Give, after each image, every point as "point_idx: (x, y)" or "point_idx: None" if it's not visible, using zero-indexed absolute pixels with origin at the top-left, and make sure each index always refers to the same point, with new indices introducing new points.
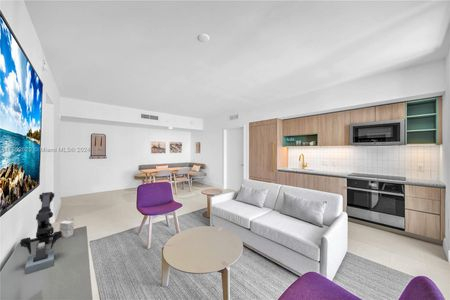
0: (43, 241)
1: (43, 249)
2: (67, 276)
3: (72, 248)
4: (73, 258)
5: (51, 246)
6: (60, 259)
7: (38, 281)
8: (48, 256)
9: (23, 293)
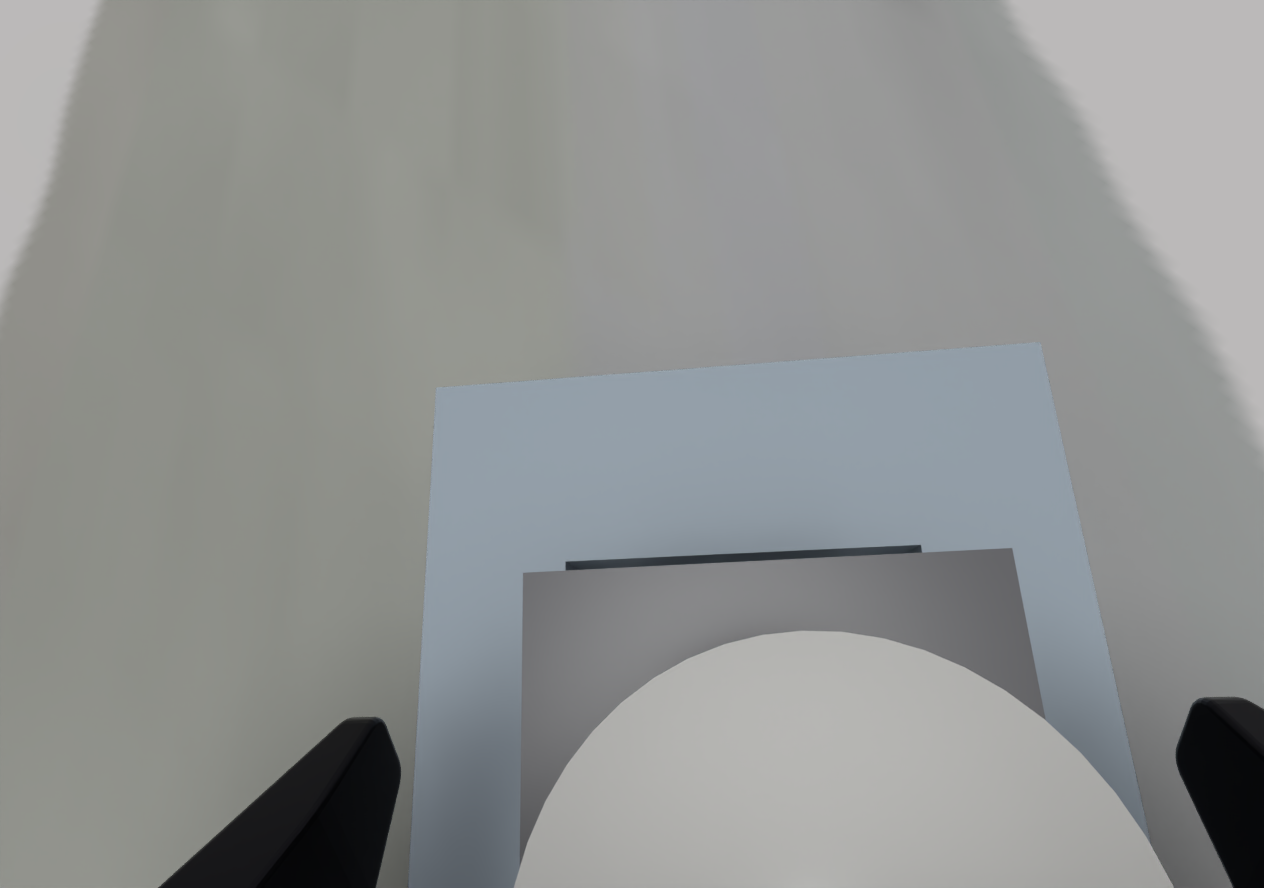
0: None
1: (647, 579)
2: None
3: None
4: (141, 522)
5: (304, 798)
6: (356, 670)
7: (679, 35)
8: None
9: None
